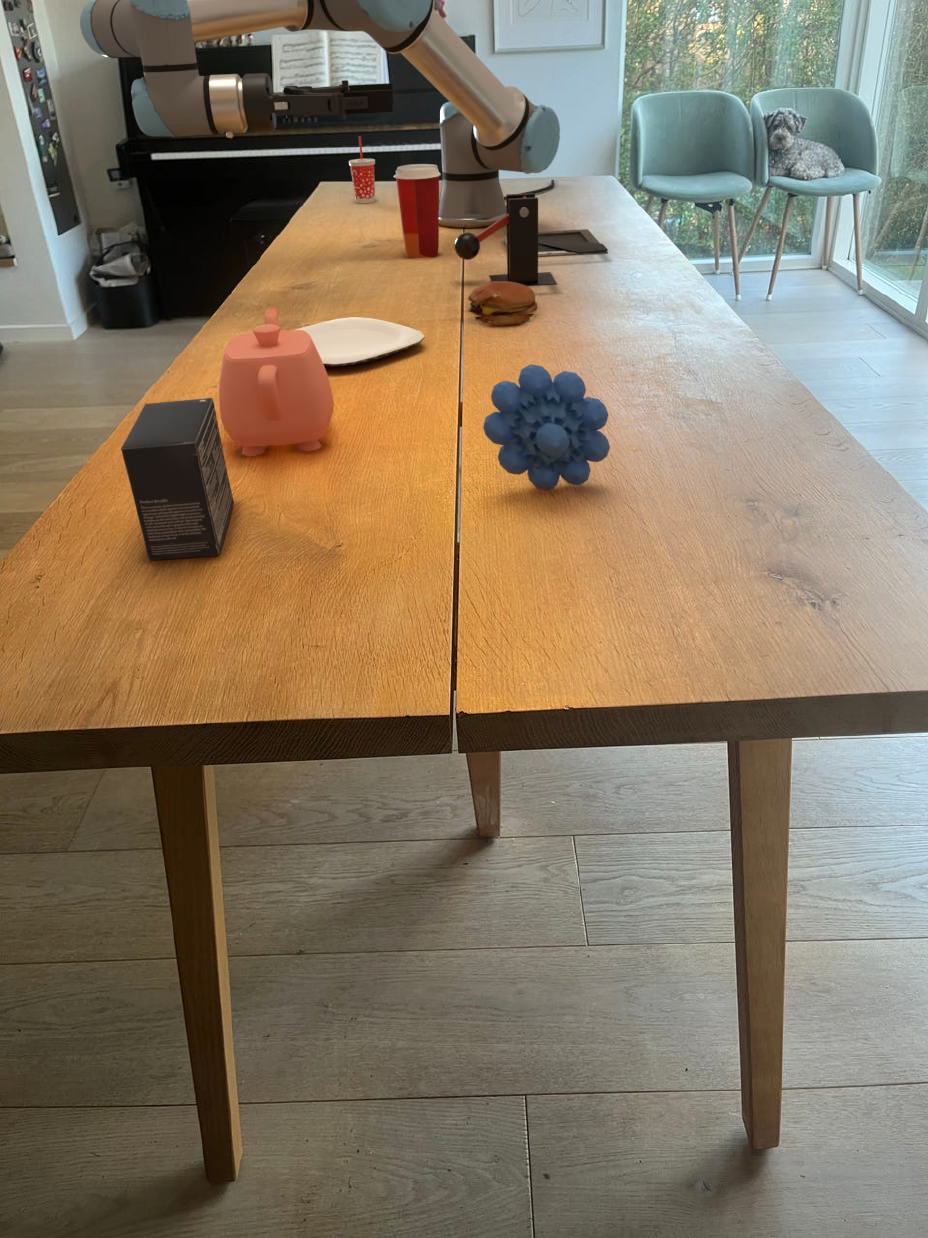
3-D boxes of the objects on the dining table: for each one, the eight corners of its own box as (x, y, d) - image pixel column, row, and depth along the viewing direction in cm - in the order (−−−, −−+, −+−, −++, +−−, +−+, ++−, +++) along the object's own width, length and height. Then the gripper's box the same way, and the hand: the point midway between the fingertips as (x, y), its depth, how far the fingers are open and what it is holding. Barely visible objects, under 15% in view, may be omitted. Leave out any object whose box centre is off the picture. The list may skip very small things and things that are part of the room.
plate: (356, 323, 144) (355, 311, 143) (441, 346, 133) (440, 333, 132) (252, 353, 133) (250, 340, 132) (335, 380, 122) (333, 367, 121)
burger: (531, 306, 148) (530, 274, 145) (541, 324, 140) (541, 290, 138) (465, 311, 147) (464, 279, 145) (472, 328, 140) (471, 295, 137)
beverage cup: (352, 200, 237) (346, 135, 229) (377, 198, 237) (372, 134, 230) (352, 204, 231) (346, 138, 224) (378, 202, 232) (373, 137, 224)
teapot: (339, 467, 99) (326, 348, 93) (220, 477, 98) (198, 358, 92) (334, 400, 116) (323, 296, 110) (232, 409, 115) (214, 304, 108)
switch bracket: (493, 296, 154) (491, 202, 147) (489, 284, 161) (487, 193, 154) (556, 293, 154) (558, 198, 147) (550, 281, 161) (551, 190, 154)
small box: (165, 508, 92) (141, 400, 87) (235, 503, 93) (216, 395, 87) (143, 562, 83) (115, 445, 78) (221, 556, 84) (199, 439, 78)
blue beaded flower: (490, 513, 89) (486, 384, 82) (482, 482, 95) (478, 359, 88) (617, 504, 89) (623, 375, 83) (602, 474, 95) (607, 351, 89)
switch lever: (464, 267, 153) (450, 244, 152) (462, 261, 157) (449, 239, 155) (537, 217, 150) (524, 193, 148) (534, 212, 154) (521, 189, 152)
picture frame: (607, 261, 172) (587, 237, 189) (608, 249, 171) (587, 226, 188) (516, 266, 171) (504, 241, 189) (516, 254, 170) (504, 230, 188)
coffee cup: (446, 250, 184) (442, 162, 177) (441, 259, 178) (437, 169, 170) (402, 250, 185) (396, 163, 177) (395, 260, 178) (389, 170, 170)
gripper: (259, 123, 154) (394, 117, 155) (237, 142, 133) (394, 135, 134) (252, 69, 150) (391, 62, 151) (228, 79, 129) (389, 71, 130)
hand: (392, 96), depth 142 cm, fingers open, 13 cm apart
